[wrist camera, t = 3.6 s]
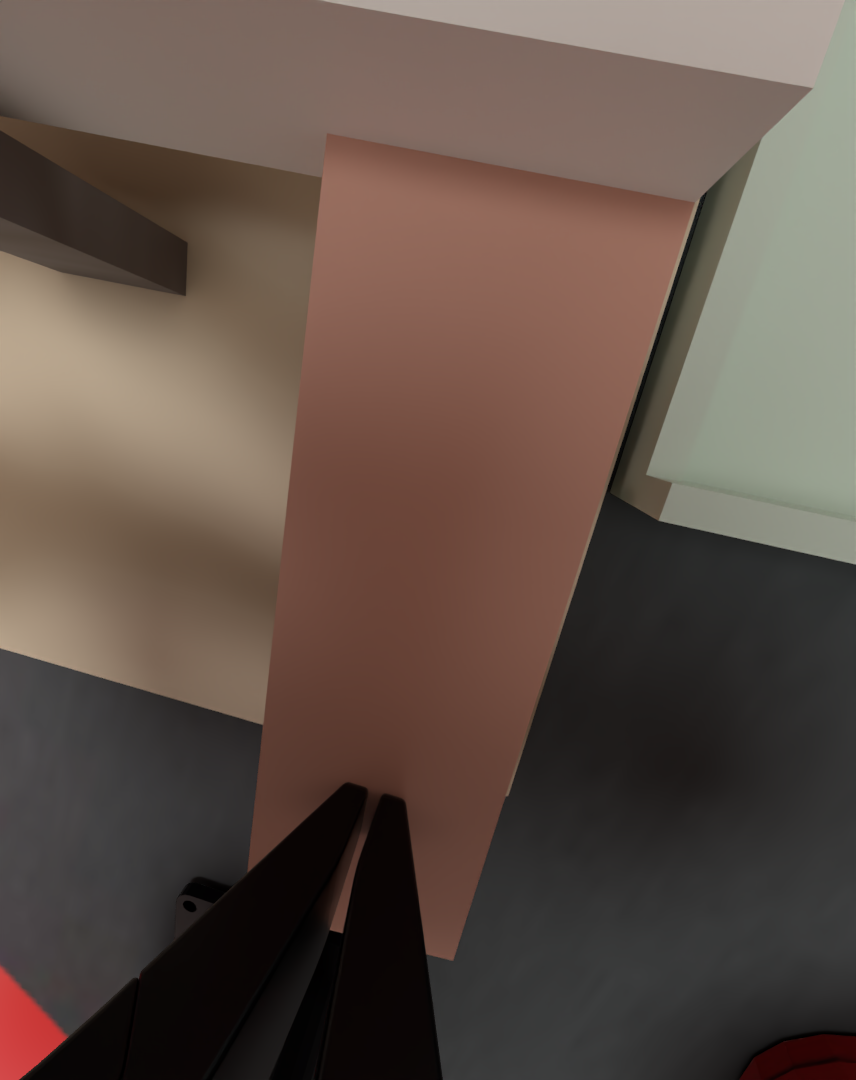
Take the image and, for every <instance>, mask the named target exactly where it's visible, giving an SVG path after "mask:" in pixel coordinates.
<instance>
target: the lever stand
mask: <svg viewBox="0 0 856 1080" xmlns="http://www.w3.org/2000/svg"><path fill="white" fill-rule="evenodd" d="M321 183H322V177H316V176H311V175H306V174H301V173H296V172H290V171H285V170H280V169H275V168H269V167H264V166H259V165H254V164H249V163H243V162H238V161H233V160H228V159H222V158H217V157H212V156H207V155H202V154H196V153H191V152H186V151H181V150H176V149H170V148H165V147H160V146H155V145H149V144H144V143H139V142H134V141H129V140H123V139H118V138H113V137H108V136H102V135H97V134H92V133H87V132H82V131H76V130H71V129H66V128H61V127H55V126H50V125H45V124H40V123H35V122H29V121H24V120H19V119H14V118H8V117H3V116H0V648H2V649H5V650H8V651H12V652H15V653H19V654H22V655H26V656H29V657H32V658H36V659H39V660H43V661H46V662H50V663H53V664H56V665H60V666H63V667H67V668H70V669H73V670H77V671H80V672H84V673H87V674H91V675H94V676H97V677H101V678H104V679H108V680H111V681H115V682H118V683H121V684H125V685H128V686H132V687H135V688H138V689H142V690H145V691H149V692H152V693H156V694H159V695H162V696H166V697H169V698H173V699H176V700H180V701H183V702H186V703H190V704H193V705H197V706H200V707H203V708H207V709H210V710H214V711H217V712H221V713H224V714H227V715H231V716H234V717H238V718H241V719H245V720H248V721H251V722H255V723H258V724H262V725H263V722H264V713H265V703H266V694H267V685H268V676H269V666H270V657H271V648H272V638H273V629H274V620H275V610H276V601H277V592H278V583H279V573H280V564H281V555H282V545H283V536H284V527H285V518H286V508H287V499H288V490H289V480H290V471H291V462H292V453H293V443H294V434H295V425H296V415H297V406H298V397H299V388H300V378H301V369H302V360H303V350H304V341H305V332H306V323H307V313H308V304H309V295H310V285H311V276H312V267H313V257H314V248H315V239H316V230H317V220H318V211H319V202H320V192H321ZM700 198H701V197H700ZM700 198H699V199H698V200H697V201H696V202H695V204H694V207H693V210H692V213H691V216H690V220H689V223H688V226H687V229H686V232H685V235H684V238H683V242H682V245H681V248H680V251H679V254H678V257H677V260H676V264H675V267H674V270H673V273H672V276H671V279H670V282H669V285H668V289H667V292H666V295H665V298H664V301H663V304H662V307H661V311H660V314H659V317H658V320H657V323H656V326H655V329H654V332H653V336H652V339H651V342H650V345H649V348H648V351H647V354H646V358H645V361H644V364H643V367H642V370H641V373H640V376H639V379H638V383H637V386H636V389H635V392H634V395H633V398H632V401H631V405H630V408H629V411H628V414H627V417H626V420H625V423H624V427H623V430H622V433H621V436H620V439H619V442H618V445H617V448H616V452H615V455H614V458H613V461H612V464H611V467H610V470H609V474H608V477H607V480H606V483H605V486H604V489H603V492H602V495H601V499H600V502H599V505H598V508H597V511H596V514H595V517H594V521H593V524H592V527H591V530H590V533H589V536H588V539H587V542H586V546H585V549H584V552H583V555H582V558H581V561H580V564H579V568H578V571H577V574H576V577H575V580H574V583H573V586H572V590H571V593H570V596H569V599H568V602H567V605H566V608H565V611H564V615H563V618H562V621H561V624H560V627H559V630H558V633H557V637H556V640H555V643H554V646H553V649H552V652H551V655H550V658H549V662H548V665H547V668H546V671H545V674H544V677H543V680H542V684H541V687H540V690H539V693H538V696H537V699H536V702H535V705H534V709H533V712H532V715H531V718H530V721H529V724H528V727H527V731H526V734H525V737H524V740H523V743H522V746H521V749H520V752H519V756H518V759H517V762H516V765H515V768H514V771H513V774H512V778H511V781H510V784H509V787H508V790H507V793H506V796H508V795H509V792H510V789H511V786H512V783H513V780H514V777H515V773H516V770H517V767H518V764H519V761H520V758H521V755H522V752H523V749H524V745H525V742H526V739H527V736H528V733H529V730H530V727H531V724H532V720H533V717H534V714H535V711H536V708H537V705H538V702H539V699H540V696H541V692H542V689H543V686H544V683H545V680H546V677H547V674H548V671H549V668H550V664H551V661H552V658H553V655H554V652H555V649H556V646H557V643H558V640H559V636H560V633H561V630H562V627H563V624H564V621H565V618H566V615H567V612H568V608H569V605H570V602H571V599H572V596H573V593H574V590H575V587H576V584H577V580H578V577H579V574H580V571H581V568H582V565H583V562H584V559H585V556H586V552H587V549H588V546H589V543H590V540H591V537H592V534H593V531H594V528H595V524H596V521H597V518H598V515H599V512H600V509H601V506H602V503H603V499H604V496H605V493H606V490H607V487H608V484H609V481H610V478H611V475H612V471H613V468H614V465H615V462H616V459H617V456H618V453H619V450H620V447H621V443H622V440H623V437H624V434H625V431H626V428H627V425H628V422H629V419H630V415H631V412H632V409H633V406H634V403H635V400H636V397H637V394H638V391H639V387H640V384H641V381H642V378H643V375H644V372H645V369H646V366H647V363H648V359H649V356H650V353H651V350H652V347H653V344H654V341H655V338H656V335H657V331H658V328H659V325H660V322H661V319H662V316H663V313H664V310H665V306H666V303H667V300H668V297H669V294H670V291H671V288H672V285H673V282H674V278H675V275H676V272H677V269H678V266H679V263H680V260H681V257H682V254H683V250H684V247H685V244H686V241H687V238H688V235H689V232H690V229H691V226H692V222H693V219H694V216H695V213H696V210H697V207H698V204H699V201H700Z"/></svg>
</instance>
